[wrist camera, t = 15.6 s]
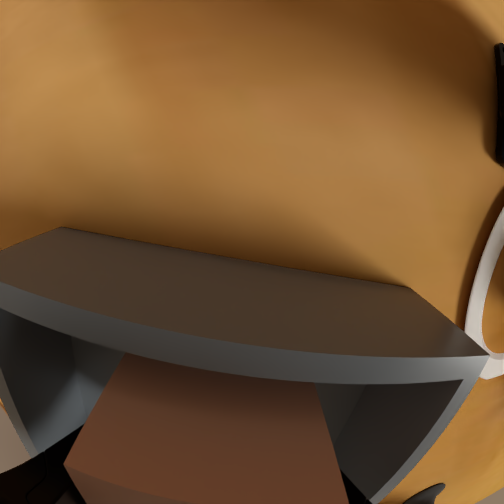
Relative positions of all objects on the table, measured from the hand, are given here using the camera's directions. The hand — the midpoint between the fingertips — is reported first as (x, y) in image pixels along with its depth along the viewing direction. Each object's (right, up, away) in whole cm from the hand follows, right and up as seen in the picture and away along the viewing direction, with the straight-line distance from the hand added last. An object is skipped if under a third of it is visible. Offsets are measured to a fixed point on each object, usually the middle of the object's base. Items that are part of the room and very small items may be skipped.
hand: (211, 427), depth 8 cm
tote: (-1, -3, +4) cm, 5 cm away
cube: (0, 0, +1) cm, 1 cm away
